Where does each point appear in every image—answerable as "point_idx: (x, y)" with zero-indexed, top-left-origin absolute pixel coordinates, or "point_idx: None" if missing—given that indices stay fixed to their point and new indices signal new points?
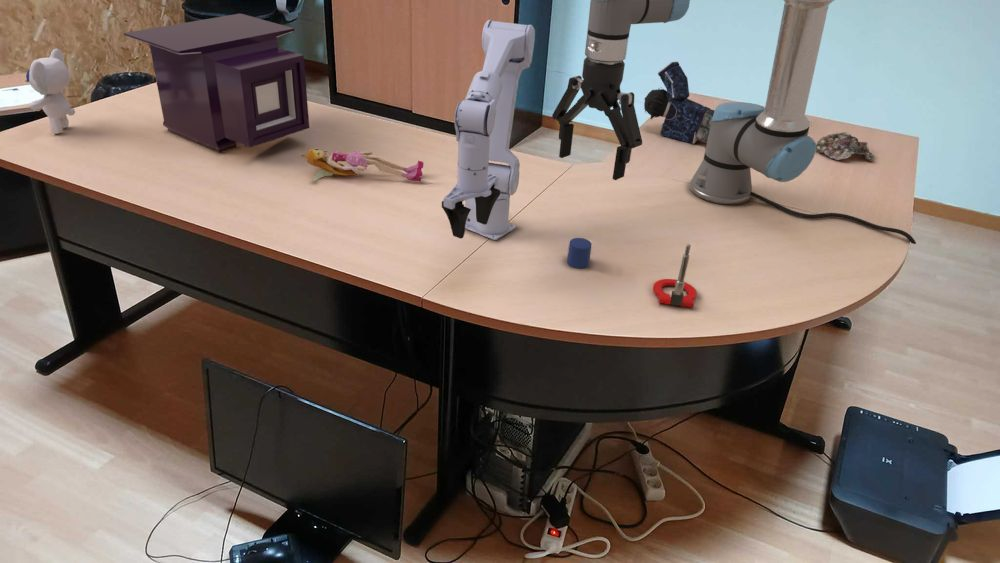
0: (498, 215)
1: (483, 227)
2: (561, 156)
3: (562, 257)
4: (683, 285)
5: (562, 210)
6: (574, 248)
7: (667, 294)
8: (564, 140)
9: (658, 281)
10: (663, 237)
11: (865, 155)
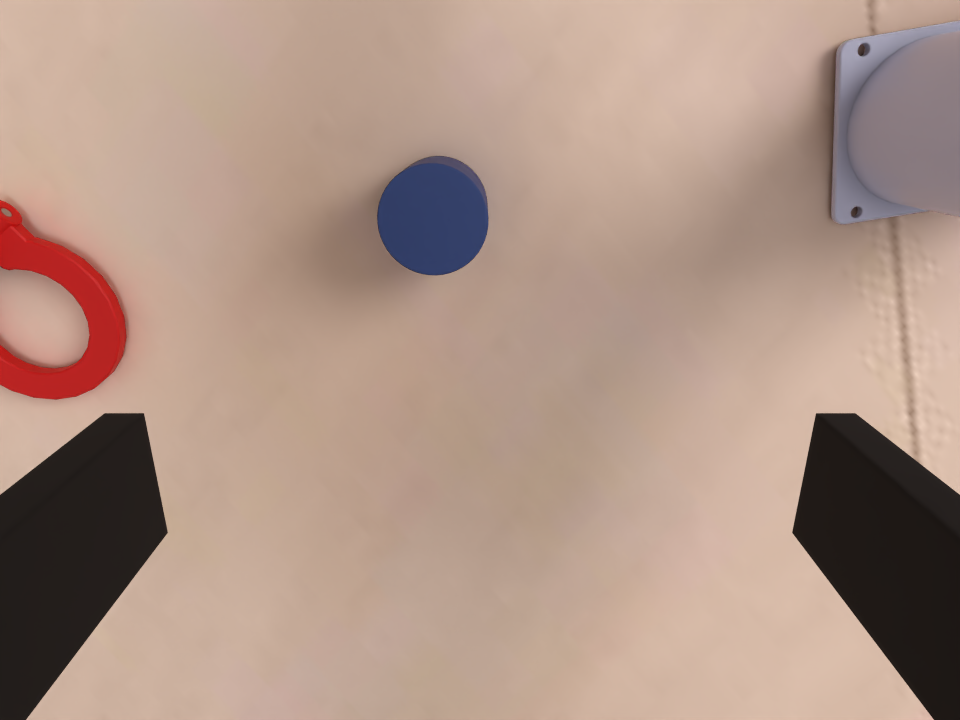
0: (930, 82)
1: (949, 32)
2: (831, 420)
3: (515, 189)
4: None
5: (768, 498)
6: (424, 163)
7: (8, 262)
8: (944, 544)
9: (111, 322)
10: (365, 608)
11: None
